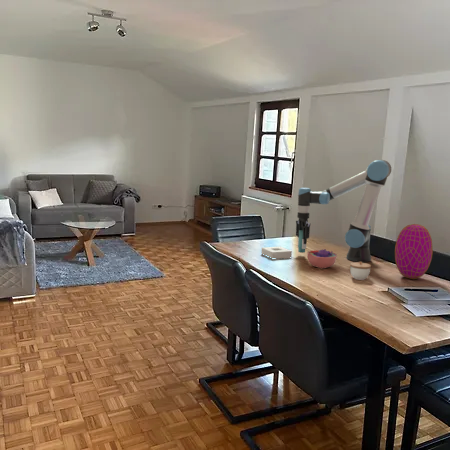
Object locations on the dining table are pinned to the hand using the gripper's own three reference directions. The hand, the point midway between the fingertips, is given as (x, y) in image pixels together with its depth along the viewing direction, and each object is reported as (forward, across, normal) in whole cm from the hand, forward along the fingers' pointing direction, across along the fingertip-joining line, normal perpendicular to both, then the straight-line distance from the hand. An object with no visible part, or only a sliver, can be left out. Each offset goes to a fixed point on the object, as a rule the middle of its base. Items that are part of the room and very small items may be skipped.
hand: (301, 247), depth 304 cm
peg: (+3, 0, 0) cm, 3 cm away
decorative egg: (+7, +63, +31) cm, 70 cm away
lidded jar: (+6, +55, +2) cm, 55 cm away
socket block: (+5, -4, -16) cm, 18 cm away
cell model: (+6, +28, -4) cm, 29 cm away
